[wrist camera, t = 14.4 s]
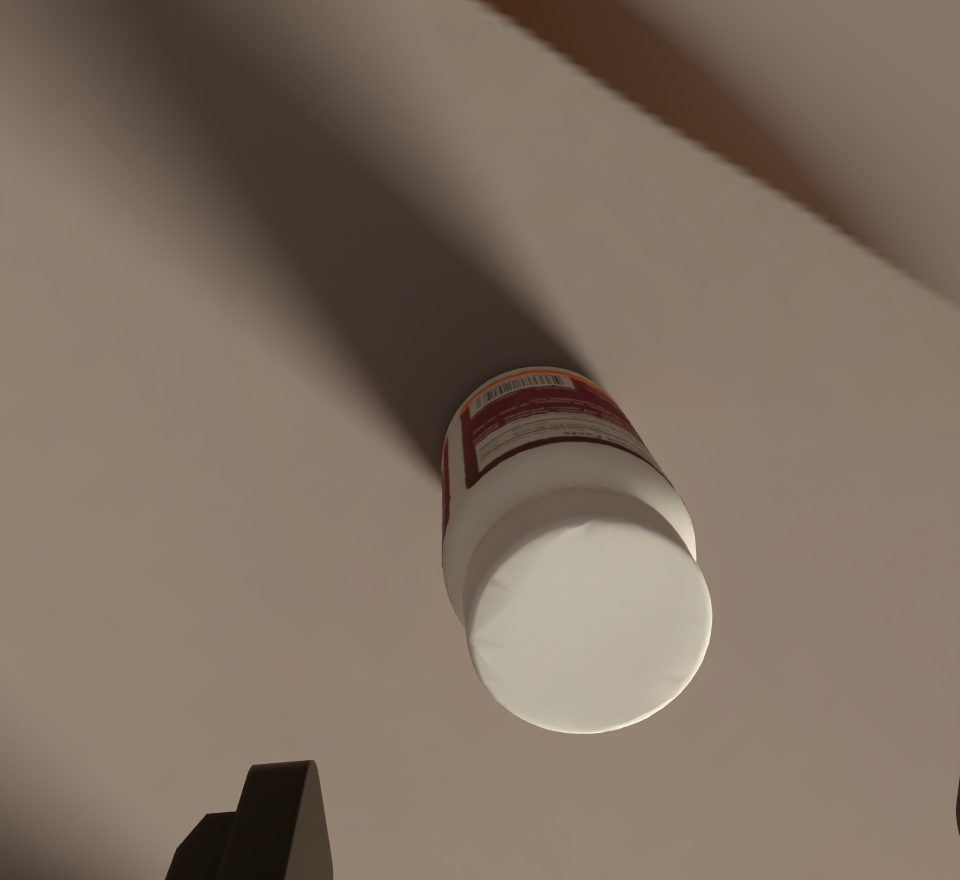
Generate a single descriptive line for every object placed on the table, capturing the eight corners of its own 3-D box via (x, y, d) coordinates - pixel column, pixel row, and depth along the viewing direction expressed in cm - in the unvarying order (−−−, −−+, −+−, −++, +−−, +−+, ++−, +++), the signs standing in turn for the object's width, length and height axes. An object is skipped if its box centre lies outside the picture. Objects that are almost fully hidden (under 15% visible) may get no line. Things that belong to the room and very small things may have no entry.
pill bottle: (577, 568, 23) (647, 793, 15) (410, 497, 22) (394, 696, 15) (667, 409, 22) (794, 567, 14) (493, 328, 21) (525, 447, 13)
